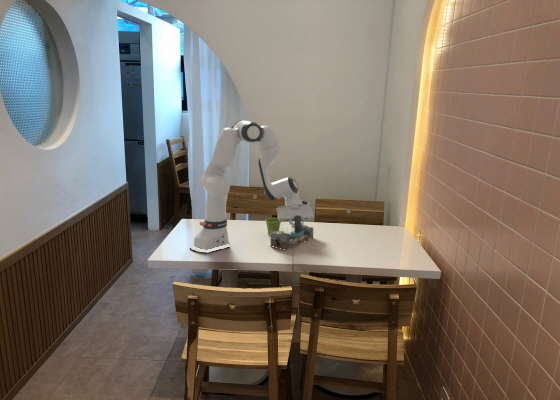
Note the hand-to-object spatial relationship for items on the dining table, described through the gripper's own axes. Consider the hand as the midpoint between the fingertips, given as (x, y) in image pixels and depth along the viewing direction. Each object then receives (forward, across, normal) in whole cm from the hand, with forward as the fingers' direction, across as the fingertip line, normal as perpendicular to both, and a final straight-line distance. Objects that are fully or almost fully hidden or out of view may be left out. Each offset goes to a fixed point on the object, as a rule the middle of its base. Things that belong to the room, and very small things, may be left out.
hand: (297, 226), depth 255 cm
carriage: (+4, 0, +5) cm, 6 cm away
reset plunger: (+10, -11, -2) cm, 15 cm away
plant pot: (-4, -11, +16) cm, 19 cm away
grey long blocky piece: (+7, -4, +4) cm, 9 cm away
